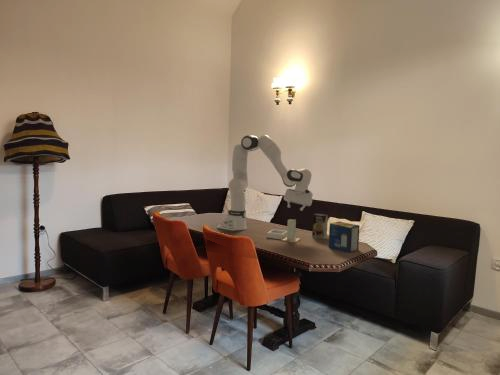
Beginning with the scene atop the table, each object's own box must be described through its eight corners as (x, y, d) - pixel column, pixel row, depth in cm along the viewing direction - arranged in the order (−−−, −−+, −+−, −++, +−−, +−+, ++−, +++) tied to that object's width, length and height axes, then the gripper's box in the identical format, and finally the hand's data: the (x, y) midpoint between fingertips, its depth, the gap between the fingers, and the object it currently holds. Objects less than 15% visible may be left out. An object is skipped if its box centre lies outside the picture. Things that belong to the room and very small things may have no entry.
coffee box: (311, 237, 256) (312, 214, 254) (314, 235, 262) (315, 213, 260) (324, 238, 252) (325, 215, 250) (327, 237, 258) (328, 214, 256)
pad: (281, 240, 243) (281, 239, 243) (286, 237, 252) (286, 236, 252) (296, 242, 239) (296, 241, 239) (300, 239, 248) (300, 238, 248)
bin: (266, 237, 251) (267, 232, 251) (272, 234, 262) (273, 229, 262) (282, 239, 247) (282, 234, 246) (287, 235, 258) (287, 231, 257)
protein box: (337, 244, 237) (338, 221, 236) (358, 250, 226) (360, 225, 224) (327, 247, 230) (329, 223, 229) (348, 252, 219) (350, 227, 217)
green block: (286, 239, 244) (287, 220, 243) (288, 237, 248) (289, 219, 247) (293, 240, 242) (294, 220, 241) (295, 238, 246) (296, 219, 245)
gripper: (285, 186, 261) (279, 204, 257) (313, 192, 252) (307, 210, 248) (288, 189, 266) (282, 207, 262) (314, 195, 257) (309, 213, 253)
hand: (294, 208), depth 255 cm, fingers open, 8 cm apart
